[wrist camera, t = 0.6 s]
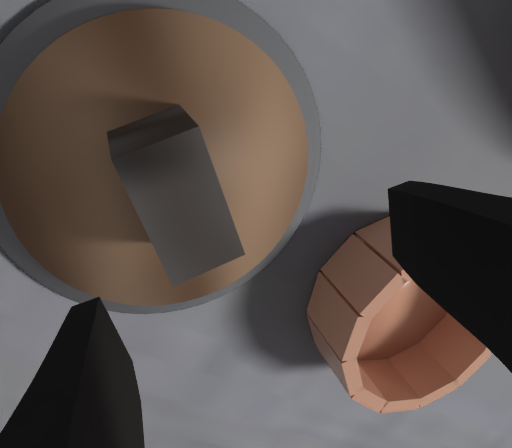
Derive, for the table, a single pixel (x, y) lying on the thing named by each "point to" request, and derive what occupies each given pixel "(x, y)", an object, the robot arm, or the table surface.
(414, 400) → the bowl
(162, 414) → the table surface
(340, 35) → the table surface
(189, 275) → the lid
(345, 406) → the table surface
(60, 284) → the coaster
